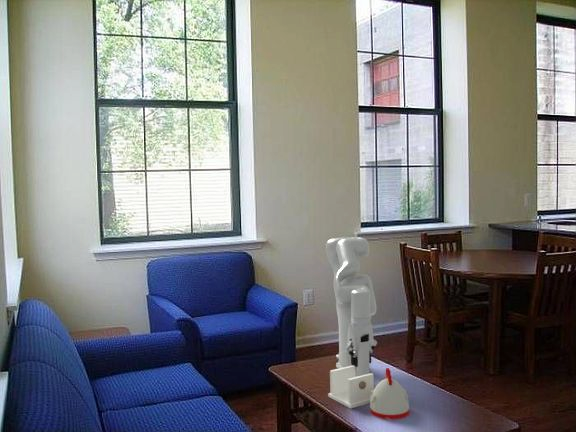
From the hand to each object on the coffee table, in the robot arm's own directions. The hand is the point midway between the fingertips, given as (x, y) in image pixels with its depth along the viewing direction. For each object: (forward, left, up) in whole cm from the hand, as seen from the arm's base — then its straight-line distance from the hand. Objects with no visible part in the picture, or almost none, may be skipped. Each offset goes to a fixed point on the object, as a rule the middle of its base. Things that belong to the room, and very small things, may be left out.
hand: (361, 363), depth 229 cm
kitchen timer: (+26, -9, -9) cm, 29 cm away
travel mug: (0, 0, -7) cm, 7 cm away
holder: (+10, -12, -8) cm, 18 cm away
